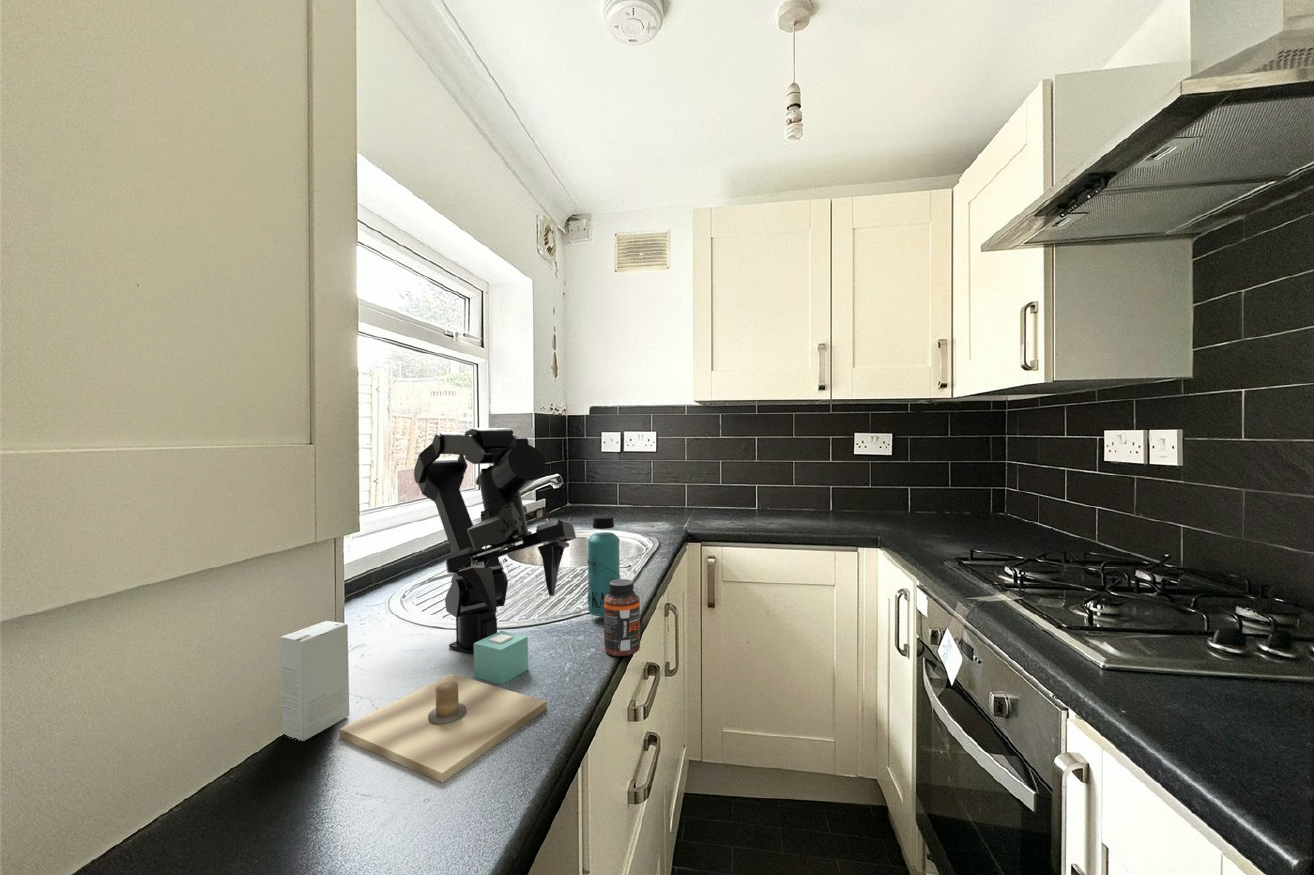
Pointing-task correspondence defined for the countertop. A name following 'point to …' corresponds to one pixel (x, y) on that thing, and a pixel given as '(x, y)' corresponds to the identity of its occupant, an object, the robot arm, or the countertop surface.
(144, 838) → the countertop surface
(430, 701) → the post board
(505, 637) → the teal cube with pad
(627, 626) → the supplement bottle
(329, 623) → the skincare box
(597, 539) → the beverage bottle
